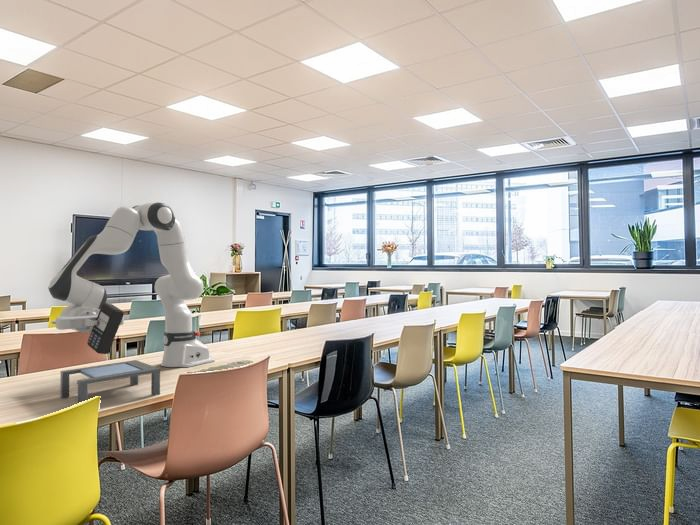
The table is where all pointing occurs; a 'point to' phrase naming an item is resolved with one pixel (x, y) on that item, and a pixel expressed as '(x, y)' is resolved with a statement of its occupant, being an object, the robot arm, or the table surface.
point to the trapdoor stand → (111, 378)
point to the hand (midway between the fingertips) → (98, 323)
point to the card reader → (105, 328)
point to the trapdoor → (108, 370)
